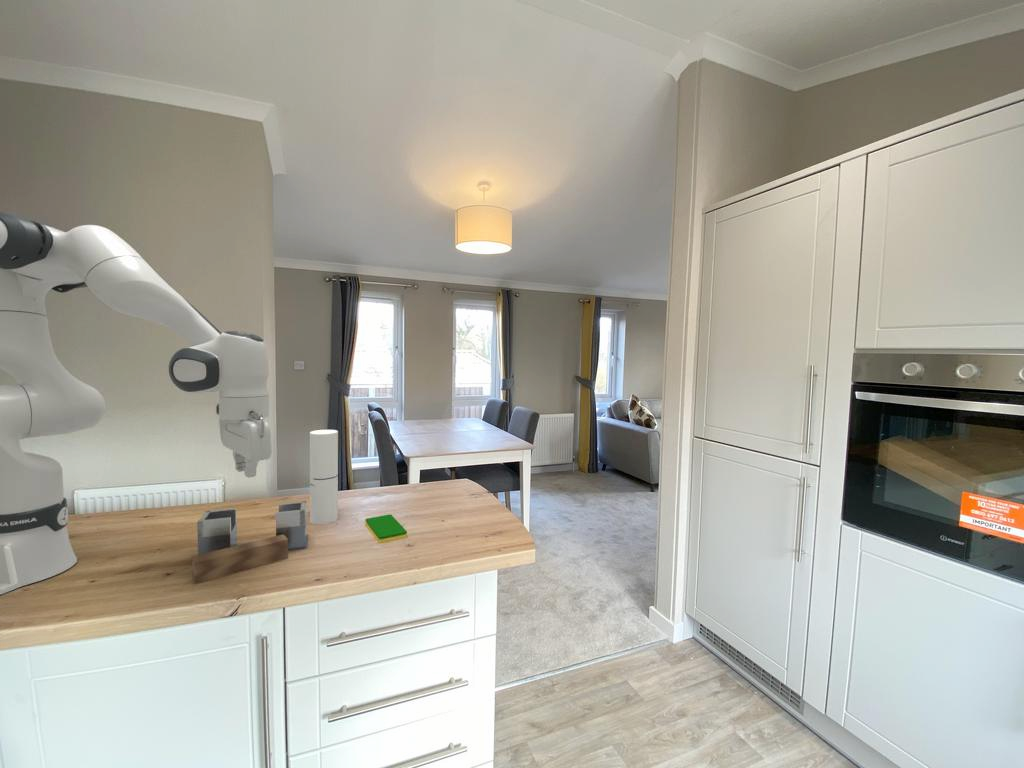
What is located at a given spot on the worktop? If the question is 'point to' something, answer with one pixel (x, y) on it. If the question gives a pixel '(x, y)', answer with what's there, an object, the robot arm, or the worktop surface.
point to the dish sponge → (385, 528)
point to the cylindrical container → (323, 476)
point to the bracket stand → (222, 533)
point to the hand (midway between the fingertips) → (245, 473)
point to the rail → (239, 558)
